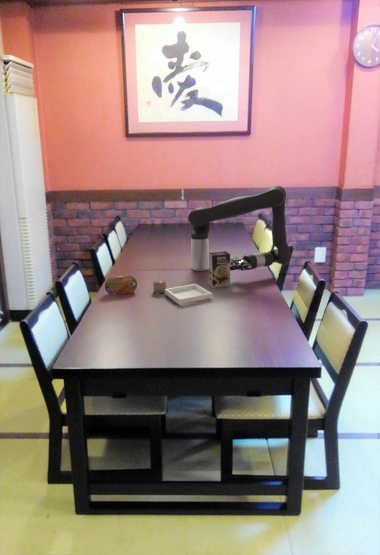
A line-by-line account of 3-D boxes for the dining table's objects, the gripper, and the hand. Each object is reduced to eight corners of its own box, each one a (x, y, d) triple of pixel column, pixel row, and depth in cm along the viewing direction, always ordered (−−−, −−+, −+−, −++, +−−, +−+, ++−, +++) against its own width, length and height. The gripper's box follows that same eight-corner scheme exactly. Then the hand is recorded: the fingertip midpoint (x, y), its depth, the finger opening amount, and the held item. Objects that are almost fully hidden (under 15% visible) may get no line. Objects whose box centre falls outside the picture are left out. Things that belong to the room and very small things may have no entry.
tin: (105, 296, 219) (104, 279, 217) (105, 294, 222) (103, 277, 219) (137, 292, 223) (136, 275, 220) (136, 290, 226) (135, 273, 223)
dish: (164, 294, 217) (164, 289, 216) (195, 288, 224) (195, 283, 223) (179, 305, 203) (179, 299, 203) (211, 298, 210) (211, 293, 209)
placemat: (165, 294, 218) (165, 293, 218) (193, 289, 224) (193, 288, 224) (181, 306, 203) (181, 305, 203) (212, 300, 209) (212, 299, 209)
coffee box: (212, 288, 225) (212, 255, 220) (208, 284, 231) (208, 252, 226) (230, 286, 227) (230, 253, 222) (226, 282, 233) (225, 250, 228)
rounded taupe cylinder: (151, 291, 224) (151, 281, 222) (163, 288, 226) (162, 279, 225) (156, 294, 219) (156, 284, 217) (168, 292, 221) (167, 282, 220)
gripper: (246, 251, 240) (218, 255, 233) (262, 257, 227) (233, 262, 221) (246, 265, 242) (218, 270, 235) (261, 272, 230) (233, 277, 223)
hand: (225, 266), depth 228 cm, fingers open, 8 cm apart
